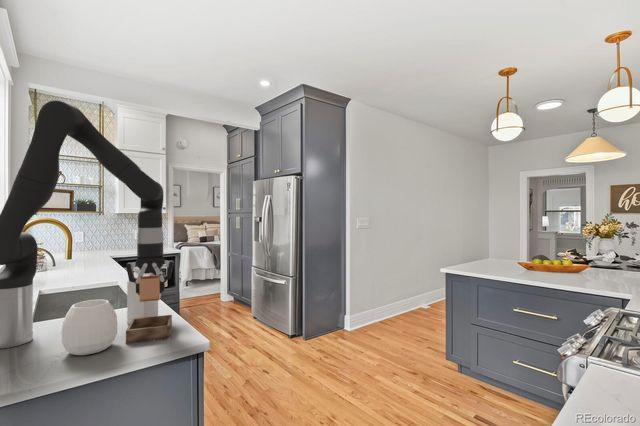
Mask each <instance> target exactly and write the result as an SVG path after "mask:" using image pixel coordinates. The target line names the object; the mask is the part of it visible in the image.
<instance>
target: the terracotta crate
mask: <svg viewBox="0 0 640 426" xmlns="http://www.w3.org/2000/svg"><path fill="white" fill-rule="evenodd" d="M154 275H155V274H154ZM139 290H140V302H144V301H155V300H158V301H160V300H161V298H162V293H160V277H158V275H157V274H156V275H155V276H143V277H142V278H141V279H140V280H139Z"/></svg>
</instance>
